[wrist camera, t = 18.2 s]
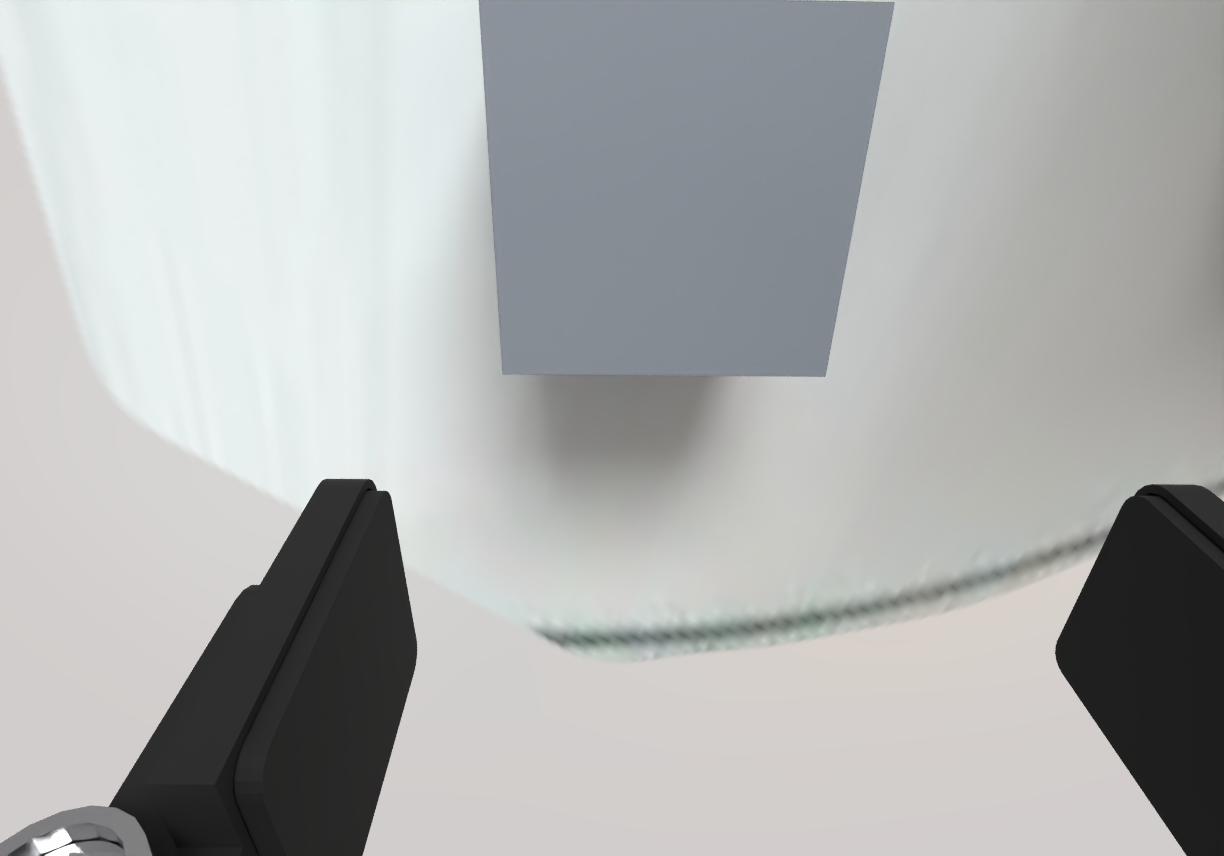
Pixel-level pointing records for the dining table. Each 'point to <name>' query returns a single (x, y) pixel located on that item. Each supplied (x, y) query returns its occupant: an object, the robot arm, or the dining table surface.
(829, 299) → the grey matte cube
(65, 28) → the dining table surface
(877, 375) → the dining table surface
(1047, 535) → the dining table surface
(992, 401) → the dining table surface
